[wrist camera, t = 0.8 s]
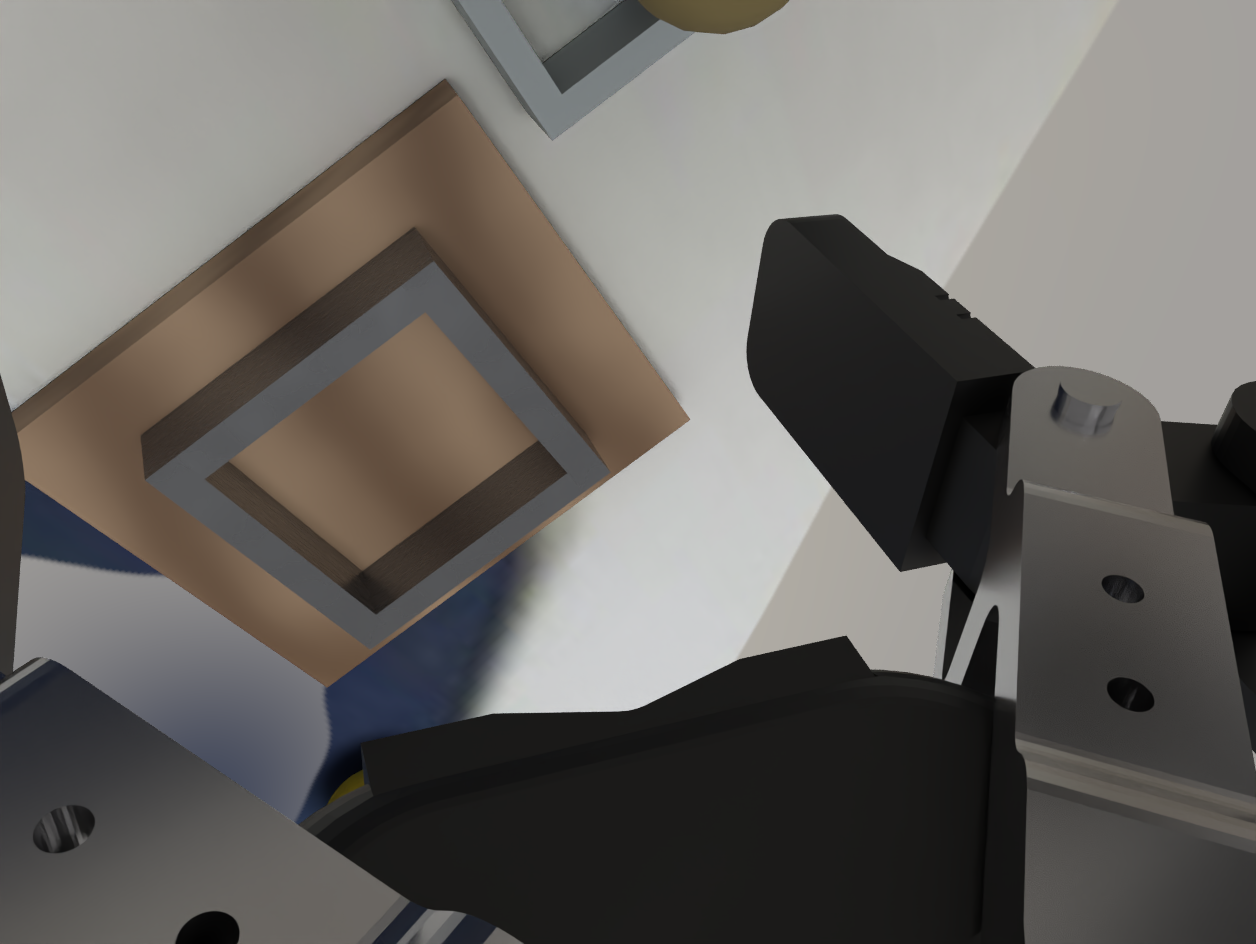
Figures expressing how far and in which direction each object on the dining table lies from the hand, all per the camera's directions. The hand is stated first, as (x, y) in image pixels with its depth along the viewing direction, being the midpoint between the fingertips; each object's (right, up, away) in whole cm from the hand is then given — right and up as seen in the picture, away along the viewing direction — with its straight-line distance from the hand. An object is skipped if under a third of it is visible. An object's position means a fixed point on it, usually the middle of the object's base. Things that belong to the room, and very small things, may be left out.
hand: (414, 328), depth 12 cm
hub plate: (-7, +1, +29) cm, 30 cm away
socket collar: (-6, 0, +28) cm, 29 cm away
